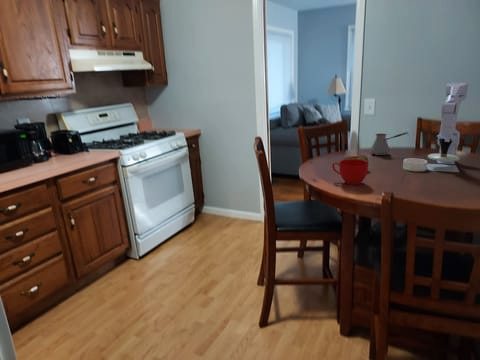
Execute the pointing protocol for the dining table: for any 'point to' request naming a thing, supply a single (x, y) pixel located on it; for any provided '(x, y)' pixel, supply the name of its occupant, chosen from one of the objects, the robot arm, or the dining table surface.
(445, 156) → the lid
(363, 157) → the tin
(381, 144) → the coffee pot
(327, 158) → the dining table surface
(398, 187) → the dining table surface
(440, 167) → the mat
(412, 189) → the dining table surface
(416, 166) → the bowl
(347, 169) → the ceramic cup
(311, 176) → the dining table surface
